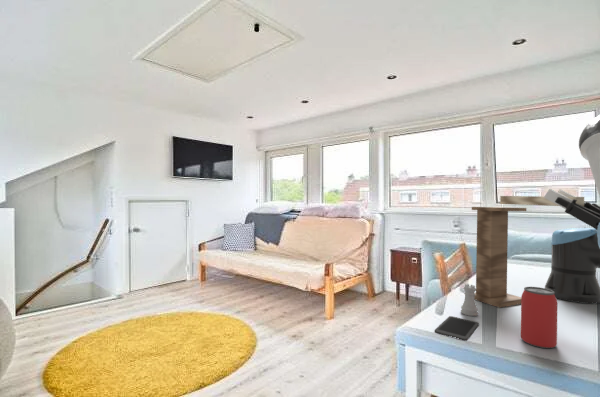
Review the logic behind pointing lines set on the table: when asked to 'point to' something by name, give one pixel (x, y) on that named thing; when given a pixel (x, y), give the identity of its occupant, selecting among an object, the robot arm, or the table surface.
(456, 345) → the table surface
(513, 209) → the shelf stand
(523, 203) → the ash bar
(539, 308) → the beer can
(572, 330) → the table surface
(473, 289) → the rook chess piece
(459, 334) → the cell phone
